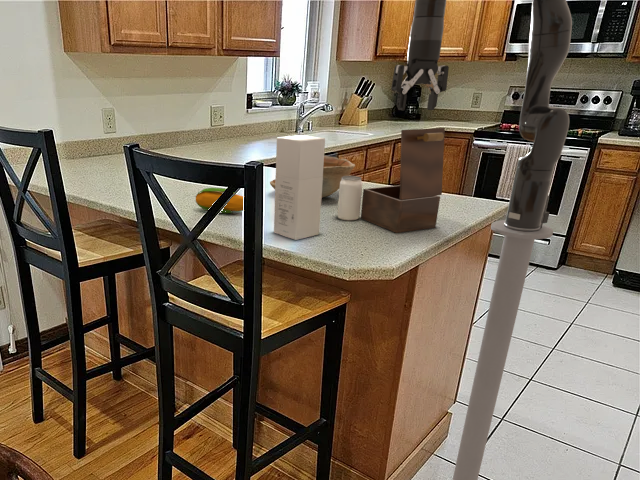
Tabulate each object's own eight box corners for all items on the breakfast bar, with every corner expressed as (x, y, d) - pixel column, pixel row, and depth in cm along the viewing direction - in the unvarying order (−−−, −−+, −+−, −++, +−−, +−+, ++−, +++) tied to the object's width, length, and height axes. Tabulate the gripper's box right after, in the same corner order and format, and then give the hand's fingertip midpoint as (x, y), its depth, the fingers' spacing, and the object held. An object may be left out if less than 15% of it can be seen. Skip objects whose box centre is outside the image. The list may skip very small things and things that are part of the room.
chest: (360, 218, 156) (363, 188, 152) (397, 213, 161) (400, 185, 157) (396, 233, 142) (400, 201, 139) (435, 227, 147) (440, 196, 143)
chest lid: (401, 130, 134) (415, 128, 129) (442, 127, 139) (457, 126, 134) (399, 199, 139) (413, 200, 134) (439, 194, 144) (453, 195, 139)
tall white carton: (319, 234, 141) (325, 138, 131) (295, 240, 136) (300, 140, 126) (297, 227, 147) (301, 134, 137) (273, 232, 142) (276, 137, 132)
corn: (201, 182, 166) (260, 187, 159) (202, 205, 170) (260, 211, 162) (190, 188, 160) (251, 194, 153) (192, 212, 164) (251, 219, 156)
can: (352, 214, 160) (355, 174, 155) (363, 219, 154) (367, 178, 150) (333, 216, 158) (336, 176, 153) (343, 221, 153) (347, 180, 148)
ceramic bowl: (257, 184, 192) (266, 142, 187) (323, 193, 201) (333, 153, 195) (286, 205, 166) (296, 158, 161) (360, 214, 175) (373, 169, 169)
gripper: (408, 37, 122) (399, 111, 128) (460, 38, 125) (449, 110, 132) (391, 39, 128) (383, 109, 135) (441, 40, 132) (431, 108, 138)
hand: (416, 109), depth 133 cm, fingers open, 8 cm apart
